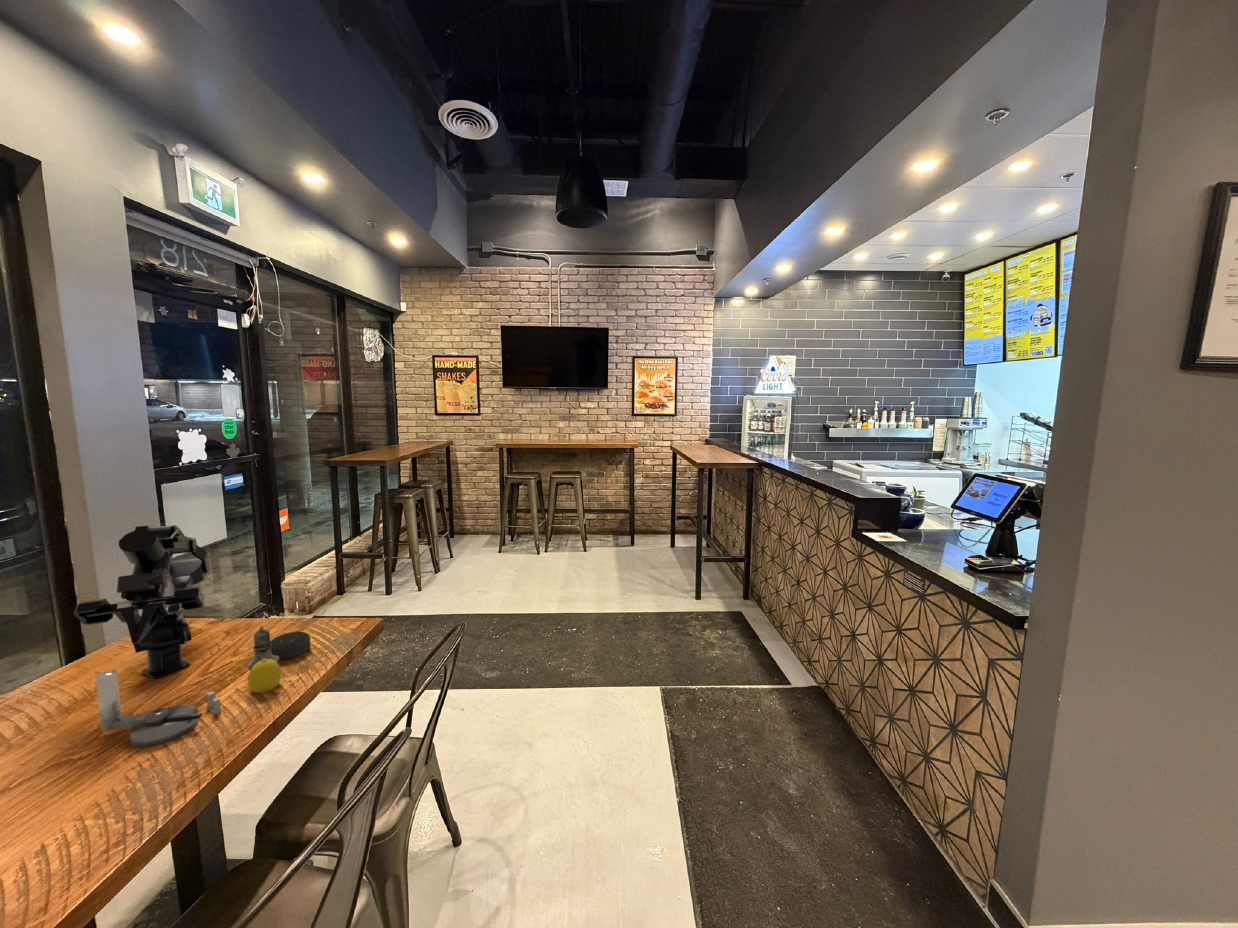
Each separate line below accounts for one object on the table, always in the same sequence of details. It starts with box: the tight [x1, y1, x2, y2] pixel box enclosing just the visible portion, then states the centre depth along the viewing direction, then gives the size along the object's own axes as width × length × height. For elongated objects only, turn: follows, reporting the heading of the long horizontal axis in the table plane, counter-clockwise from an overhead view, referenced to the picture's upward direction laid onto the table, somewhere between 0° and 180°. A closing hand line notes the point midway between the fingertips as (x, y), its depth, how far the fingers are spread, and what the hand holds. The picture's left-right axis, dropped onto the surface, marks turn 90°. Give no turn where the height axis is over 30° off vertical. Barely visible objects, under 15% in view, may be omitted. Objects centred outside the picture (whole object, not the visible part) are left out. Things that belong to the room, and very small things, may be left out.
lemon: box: [247, 659, 282, 694], centre depth 98 cm, size 6×6×8 cm
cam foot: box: [95, 669, 203, 749], centre depth 84 cm, size 13×11×12 cm
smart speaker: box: [270, 631, 312, 662], centre depth 116 cm, size 9×9×4 cm
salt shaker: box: [247, 626, 279, 672], centre depth 105 cm, size 6×6×12 cm
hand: (135, 643), depth 93 cm, fingers closed
